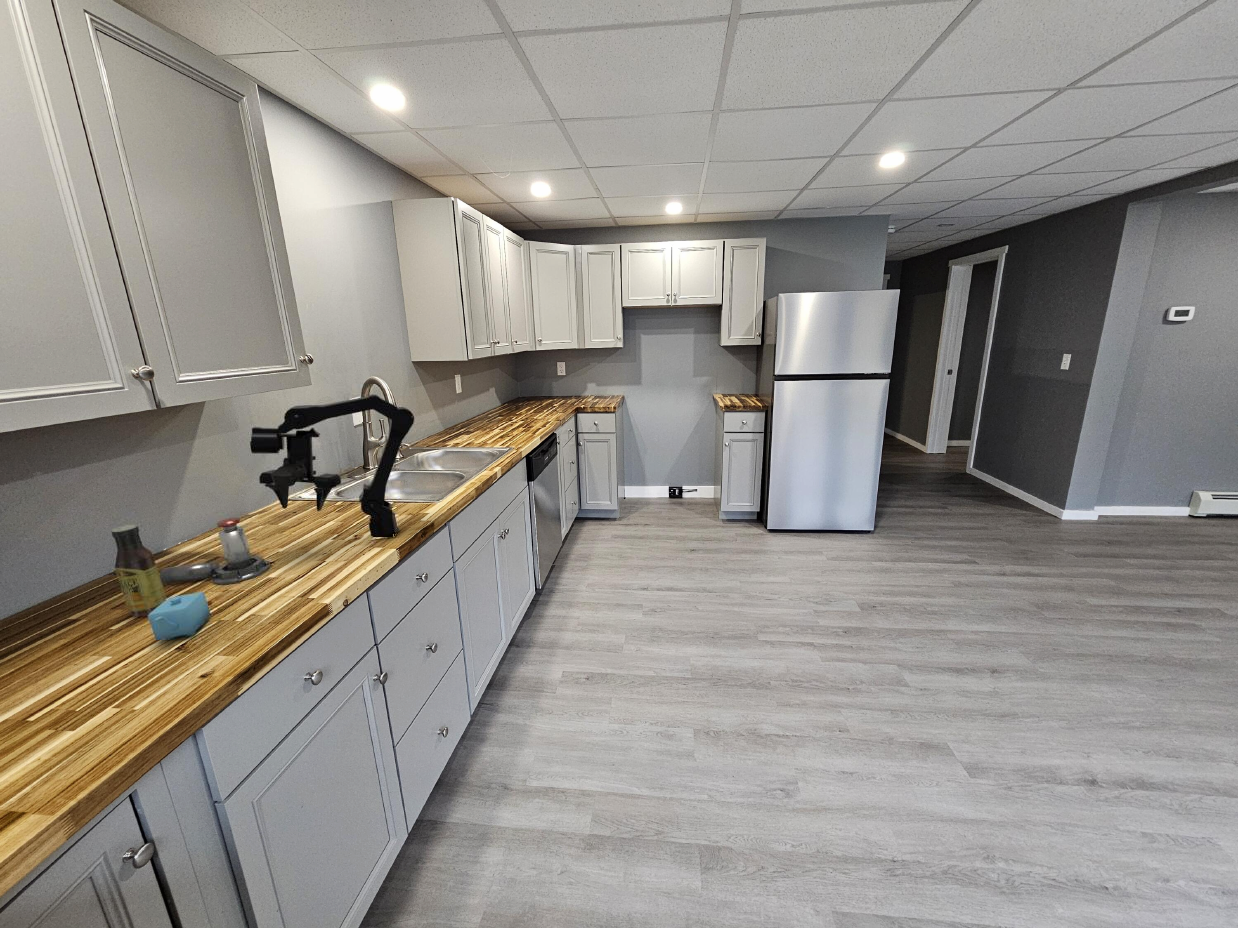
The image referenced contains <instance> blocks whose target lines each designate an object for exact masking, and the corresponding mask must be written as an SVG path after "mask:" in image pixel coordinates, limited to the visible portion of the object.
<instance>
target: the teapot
mask: <svg viewBox="0 0 1238 928" xmlns="http://www.w3.org/2000/svg"><path fill="white" fill-rule="evenodd" d="M211 615H212V614H211V611H210V607H209V604H208V601H207V598H206V594H205V592H204V591H200V592H195V593H187V594H183V595H178V596H171V597H168V598H166V601H164V602H163V603H162V604H161V605H159V606H158V607H157V608H156V609H155V610H153V611H152V612H151V613H150V614H149V615H147V618H148V621H149V624H150V627H151V629H152V633H153V635H154V639H155V641H158V640H159V641H160V640H165V641H170V640H172V639H175V637H180V636H181V637H182V636H187V637H191V636H193V635H195V634H196V633H197V630H198V629H199V628H200V627H201V626H204V625H205V624H206V621H207V620H208V618H210V616H211Z"/></svg>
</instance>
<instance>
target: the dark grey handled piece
mask: <svg viewBox="0 0 1238 928" xmlns="http://www.w3.org/2000/svg"><path fill="white" fill-rule="evenodd" d="M251 558H252V562H253V565H251V566H248V567H245V568H242V569H239V570H232V571H229V569H228V566H227V562H225V563H224V564H221V565H220V564H219V563H218V561H209V562H200V563H194V564H185V565H177V566H170V567H163V568H162V569H161V570H160V571H159V575H160V579H161V582H162V585H170V584H177V583H178V584H179V583H185V582H193V581H199V580H207V579H211V582H212V584H214V585H216V586H226V585H233V584H237V583H242V582H245V581H246V582H247V581H249V580H252V579H254V578H257V577H259V576H261V575H263V574H265V573H266V572H268V571H269V570H270V568H272V567H271V563H270V561H269V560H265V559H264V558H263V557H262V556H260V555H254V556H252V555H251Z"/></svg>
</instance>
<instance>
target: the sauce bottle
mask: <svg viewBox="0 0 1238 928" xmlns="http://www.w3.org/2000/svg"><path fill="white" fill-rule="evenodd" d="M139 532H140V529H139V526H138V525H137V524H128V525H123V526H119V527H116V528H113V529H112V530H111V536H112V537H113V538H114V540H115V544H116V549H117V550H116V558H115V563H114V569H115V573H116V575H117V576H116V577H117V578H118V583H119V585H120V590H121V592H122V595H123V597H124V602H125V604H126V606H127V610H128V611H129V613H130V615H131V616H132V617H134V618H135V617H148V615H149V614H150V613H151V612H152V611H153V610H155V609H156V608H157V607H158V606H159V605H161V604H162V603H163V602H164V601H166V600H167V596H166V593H165V590H164V587H163V584H162V582H161V579H160V575H159V574H160V571H159V569H158V566H157V563H156V561H155V557H154V554H153V552H152V551H151V550H150V549H149V548H147V547H145V545H143V541H142V539H141V536H140V534H139Z"/></svg>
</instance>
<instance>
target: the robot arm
mask: <svg viewBox="0 0 1238 928" xmlns="http://www.w3.org/2000/svg"><path fill="white" fill-rule="evenodd" d="M370 410H374V411H376V412H377V413H379V414H380V415H382V416H384V417H386V418H388V419H389V420H390V421H389V427H388V434H387V435H388V436H387V439H386V442H385V444H384V447H383V450H382V452H381V456H380V458H379V461H378V464H377V467H376V468H375V471H374V475H373V477H372V480H371V481H370V483H369V484H366V483H363V484H362V485H363V487H362V492H361V493H360V494H359V496H358V500H359V503H360V510H361V511H362V512H363V513H364V514H365V515H367V516H369V523H368V528H369V531H370V536H371V537H393V534H394V536H395V534H396V533H397V532H398V531H399V532H400V530H399V529H400V528H398V523H397V518H396V517H397V516H396V512H393V508H392V503H391V502H389V501H387V500H385V498H386V490H387V489H386V488H387V483H388V481H389V478H390V475H391V472H392V470H393V467H394V464H395V461H396V459H397V456H398V453H399V450H400V448H401V446H402V445H401V444H402V442H403V440H404V439H405V438H406V436H407V434H408V433H409V432H410V430H411V428H412V427H413V425H414V423H415V415H414V414H413V412H412V411H411V410H410V409H408V408H407V407H403V406H396V405H395V404H393V403H391V402H389V401H387V400H385V399H383V398H382V397H380V396H379V395H377V394H374V393H373V394H368V395H367V396H361V397H357V398H352V399H347V400H342V401H336V402H332V403H327V404H326V403H325V404H312V405H311V404H309V405H307V404H306V405H303V404H302V405H294V406H293V407H290V408H289V409H288V410H287V411H286V412H285V413H284V417H283V419H284V421H283V422H282V423H280V424H279V425H278V426H277V427H261V426H253V427H252V428H251V434H250V435H251V438H250V441H249V444H250V451H251V454H257V455H258V454H262V455H264V454H280V451H281V450H285V438H286V457H284V458H283V460H282V462H283V463H282V465H281V466H279V467H277V469H271V470H267V471H263V472H261V473H260V475H259V477H258V478H259V479H258V481H259V482H258V483H259V484H263V485H264V486H265V488H269V489H270V490H272V491H273V492H274V494H275V495H276V497H277V499H278V502H279V503H280V505H281V507H282V509H284V510H286V509H288V504H289V490H290V487H293V486H294V485H295V484H296V483H307V484H314V486H315V488H313V491H314V492H315V495H316V497H315V498H316V502H315V503H316V511H317V512H320V511H321V510H322V509H323V506H324V505H325V503H326V500H327V498H328V496H329V494H330V493H331V491H332V489H333V488H336V487H337V486H339V485H341V484H342V477H341V476H340V474H337V473H324V474H321V475H318V476H317V470H314V461H315V460H316V455H313V438H319V437H320V436H321V433H320V432H318V431H317V430H316V429H315V428H314V427H311V426H313V425H317V424H318V423H320V422H323V421H326V420H328V419H333V418H337V417H343V416H347V415H351V414H356V413H362V412H365V411H366V412H367V411H370ZM309 427H311V428H310V429H309V430H303V429H306V428H309ZM293 430H296V431H295V433H289V432H291V431H293ZM399 532H398V533H399ZM398 533H397V534H398ZM395 537H396V536H395Z"/></svg>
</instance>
